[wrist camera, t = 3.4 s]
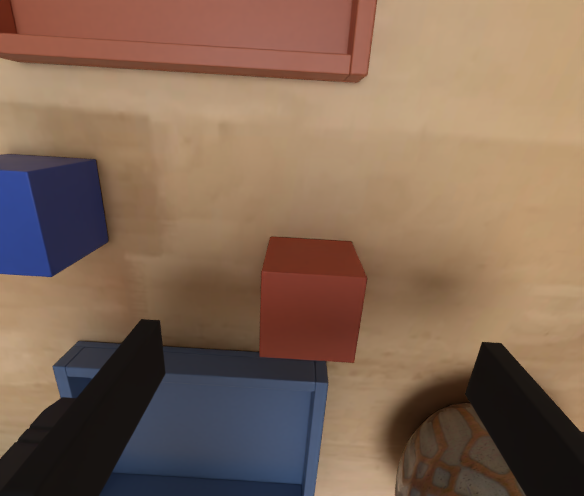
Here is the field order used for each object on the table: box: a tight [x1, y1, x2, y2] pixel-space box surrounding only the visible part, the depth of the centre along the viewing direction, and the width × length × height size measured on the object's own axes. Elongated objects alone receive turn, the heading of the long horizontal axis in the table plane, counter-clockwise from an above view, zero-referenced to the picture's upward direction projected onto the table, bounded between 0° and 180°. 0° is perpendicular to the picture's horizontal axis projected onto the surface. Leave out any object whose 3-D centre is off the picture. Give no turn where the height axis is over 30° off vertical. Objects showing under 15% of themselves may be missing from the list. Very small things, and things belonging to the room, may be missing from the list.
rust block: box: [259, 237, 367, 363], centre depth 18 cm, size 5×5×5 cm
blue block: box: [0, 154, 108, 277], centre depth 17 cm, size 5×5×5 cm
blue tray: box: [53, 341, 328, 496], centre depth 24 cm, size 18×14×3 cm
